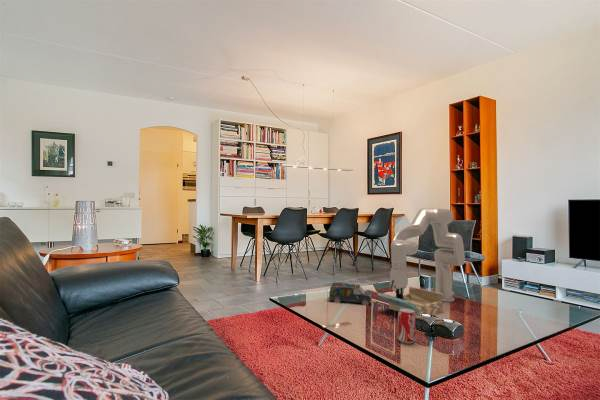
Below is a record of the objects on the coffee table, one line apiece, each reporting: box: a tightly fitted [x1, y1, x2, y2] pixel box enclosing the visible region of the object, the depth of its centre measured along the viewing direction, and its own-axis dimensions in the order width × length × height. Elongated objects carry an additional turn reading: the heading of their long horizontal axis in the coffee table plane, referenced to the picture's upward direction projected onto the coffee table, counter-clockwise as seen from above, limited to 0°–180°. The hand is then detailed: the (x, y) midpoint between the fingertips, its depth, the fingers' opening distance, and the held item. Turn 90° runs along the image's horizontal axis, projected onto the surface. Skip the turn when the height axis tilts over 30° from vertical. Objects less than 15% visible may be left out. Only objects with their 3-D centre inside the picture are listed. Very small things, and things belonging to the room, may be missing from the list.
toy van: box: [328, 282, 372, 306], centre depth 196 cm, size 11×25×10 cm, turn 78°
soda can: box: [396, 308, 417, 345], centre depth 139 cm, size 7×7×13 cm
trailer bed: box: [388, 286, 443, 316], centre depth 182 cm, size 20×20×10 cm
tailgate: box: [377, 292, 421, 312], centre depth 173 cm, size 2×19×12 cm
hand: (399, 300), depth 173 cm, fingers closed
